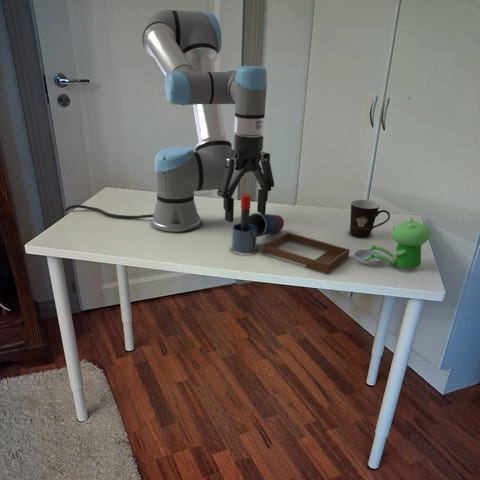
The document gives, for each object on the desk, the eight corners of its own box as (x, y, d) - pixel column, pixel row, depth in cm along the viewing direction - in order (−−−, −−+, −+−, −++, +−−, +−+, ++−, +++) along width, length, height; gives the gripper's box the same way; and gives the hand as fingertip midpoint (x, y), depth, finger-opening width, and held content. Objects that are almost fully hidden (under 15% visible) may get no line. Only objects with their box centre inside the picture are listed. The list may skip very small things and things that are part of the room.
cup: (287, 233, 150) (267, 236, 137) (267, 234, 153) (246, 237, 140) (286, 211, 148) (265, 212, 135) (266, 213, 151) (244, 214, 139)
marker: (237, 248, 138) (239, 195, 130) (242, 245, 140) (244, 193, 131) (245, 250, 137) (247, 197, 128) (250, 247, 138) (252, 195, 130)
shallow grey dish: (353, 265, 132) (354, 259, 131) (353, 254, 138) (354, 248, 137) (382, 269, 130) (383, 262, 129) (381, 257, 137) (383, 251, 136)
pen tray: (262, 253, 137) (263, 245, 135) (286, 239, 146) (287, 232, 145) (327, 274, 127) (328, 265, 125) (348, 257, 136) (349, 249, 135)
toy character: (359, 255, 141) (363, 212, 134) (424, 260, 136) (431, 216, 129) (357, 268, 133) (361, 224, 126) (425, 274, 128) (433, 228, 121)
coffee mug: (341, 234, 152) (345, 203, 147) (355, 227, 158) (360, 197, 152) (373, 244, 145) (379, 213, 140) (386, 237, 151) (393, 206, 146)
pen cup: (226, 250, 138) (227, 227, 134) (240, 243, 143) (241, 221, 139) (246, 257, 134) (247, 233, 131) (260, 249, 139) (261, 226, 136)
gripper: (221, 142, 113) (220, 229, 124) (291, 132, 126) (284, 212, 137) (203, 136, 118) (203, 221, 129) (272, 128, 131) (267, 205, 142)
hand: (245, 216), depth 133 cm, fingers open, 11 cm apart
